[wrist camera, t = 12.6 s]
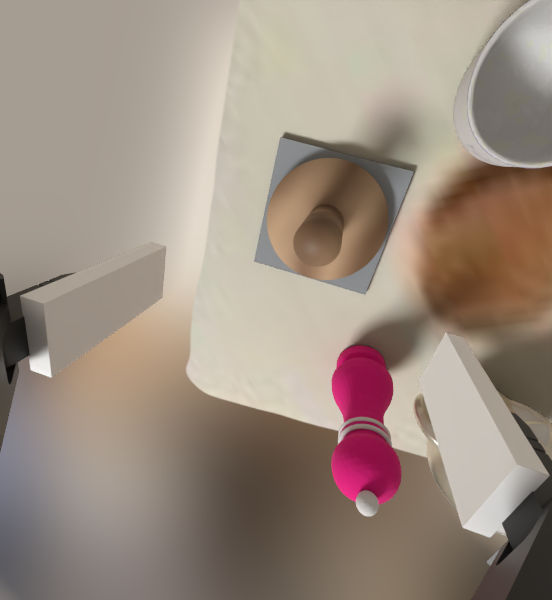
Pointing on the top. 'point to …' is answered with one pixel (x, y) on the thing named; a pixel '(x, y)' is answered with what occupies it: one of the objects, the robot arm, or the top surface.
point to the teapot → (541, 427)
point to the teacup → (510, 93)
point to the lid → (327, 218)
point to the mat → (298, 153)
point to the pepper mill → (364, 430)
